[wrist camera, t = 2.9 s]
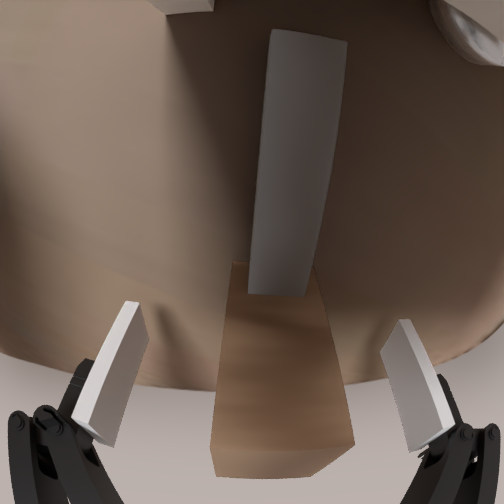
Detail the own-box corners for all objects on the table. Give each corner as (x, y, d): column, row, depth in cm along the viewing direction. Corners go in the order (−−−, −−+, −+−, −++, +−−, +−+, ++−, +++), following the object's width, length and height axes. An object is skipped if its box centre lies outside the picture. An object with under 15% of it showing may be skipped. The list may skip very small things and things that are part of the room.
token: (427, 40, 7) (457, 34, 5) (422, -32, 5) (447, -44, 2) (493, 79, 7) (522, 84, 5) (489, 11, 5) (515, 9, 3)
